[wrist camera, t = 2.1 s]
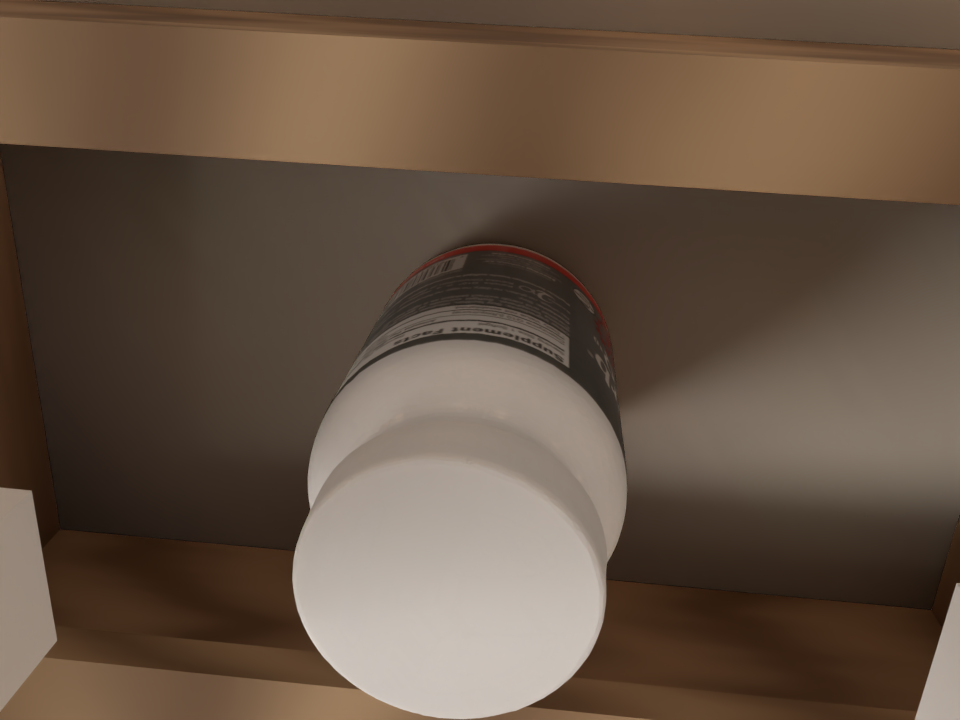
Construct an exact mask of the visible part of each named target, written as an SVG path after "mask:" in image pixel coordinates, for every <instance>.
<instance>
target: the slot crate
mask: <svg viewBox="0 0 960 720" xmlns="http://www.w3.org/2000/svg"><path fill="white" fill-rule="evenodd" d="M0 143H2V144H18V145H33V146H49V147H64V148H80V149H95V150H111V151H127V152H142V153H158V154H173V155H189V156H204V157H220V158H236V159H251V160H267V161H282V162H298V163H313V164H329V165H345V166H360V167H376V168H391V169H407V170H422V171H438V172H453V173H469V174H485V175H500V176H516V177H531V178H547V179H562V180H578V181H594V182H609V183H625V184H640V185H656V186H671V187H687V188H702V189H718V190H734V191H749V192H765V193H780V194H796V195H811V196H827V197H843V198H858V199H874V200H889V201H905V202H920V203H936V204H952V205H960V50H956V49H937V48H918V47H900V46H881V45H862V44H844V43H825V42H806V41H787V40H769V39H750V38H731V37H713V36H694V35H675V34H656V33H638V32H619V31H600V30H582V29H563V28H544V27H525V26H507V25H488V24H469V23H451V22H432V21H413V20H395V19H376V18H357V17H338V16H320V15H301V14H282V13H264V12H245V11H226V10H207V9H189V8H170V7H151V6H133V5H114V4H95V3H77V2H58V1H39V0H0ZM0 488H10V489H20V490H30V491H32V495H33V501H34V507H35V513H36V519H37V525H38V531H39V536H40V542H41V548H42V554H43V560H44V566H45V572H46V577H47V583H48V589H49V595H50V601H51V607H52V613H53V618H54V624H55V630H56V636H57V641H56V643H55V644H54V645H53V646H52V648H51V649H50V650H49V651H48V653H47V654H46V655H45V656H44V658H43V659H42V660H41V661H40V663H39V664H38V665H37V666H36V668H35V669H34V670H33V671H32V673H31V674H30V675H29V676H28V678H27V679H26V680H25V681H24V683H23V684H22V685H21V686H20V688H19V689H18V690H17V691H16V693H15V694H14V695H13V696H12V698H11V699H10V700H9V701H8V703H7V704H6V705H5V706H4V708H3V709H2V710H1V711H0V720H915V717H916V714H917V711H918V708H919V704H920V701H921V698H922V695H923V691H924V688H925V685H926V681H927V678H928V675H929V672H930V668H931V665H932V662H933V658H934V655H935V652H936V649H937V645H938V642H939V639H940V636H941V632H942V629H943V626H944V622H945V619H946V616H947V613H948V609H949V606H950V603H951V599H952V596H953V593H954V590H955V586H956V583H960V516H959V519H958V522H957V526H956V529H955V532H954V536H953V539H952V543H951V546H950V549H949V553H948V556H947V559H946V563H945V566H944V570H943V573H942V576H941V580H940V583H939V586H938V590H937V593H936V597H935V600H934V603H933V607H932V610H926V609H915V608H904V607H893V606H883V605H872V604H861V603H850V602H839V601H829V600H818V599H807V598H796V597H785V596H774V595H764V594H753V593H742V592H731V591H720V590H710V589H699V588H688V587H677V586H666V585H656V584H645V583H634V582H623V581H612V580H606V607H605V613H604V620H603V624H602V627H601V630H600V633H599V636H598V638H597V641H596V643H595V645H594V647H593V649H592V651H591V653H590V655H589V656H588V658H587V659H586V660H585V662H584V663H583V664H582V665H581V667H580V668H579V669H578V670H577V671H576V673H575V674H574V675H573V676H572V677H571V678H570V679H569V680H568V681H566V682H565V683H564V684H563V685H562V686H560V687H559V688H558V689H557V690H555V691H554V692H552V693H551V694H549V695H548V696H546V697H545V698H543V699H541V700H539V701H537V702H535V703H533V704H531V705H528V706H526V707H523V708H521V709H519V710H517V711H512V712H508V713H504V714H499V715H495V716H490V717H484V718H474V719H447V718H437V717H431V716H424V715H421V714H418V713H412V712H409V711H406V710H402V709H399V708H397V707H394V706H392V705H389V704H387V703H385V702H382V701H380V700H378V699H376V698H374V697H372V696H371V695H369V694H367V693H365V692H364V691H362V690H361V689H359V688H358V687H356V686H355V685H353V684H352V683H351V682H349V681H348V680H347V679H346V678H344V677H343V676H342V675H341V674H339V673H338V672H337V671H336V670H335V669H334V668H333V667H332V666H331V665H330V663H329V662H328V661H327V660H326V659H325V658H324V657H323V656H322V655H321V653H320V652H319V651H318V649H317V648H316V646H315V645H314V643H313V642H312V640H311V639H310V637H309V635H308V633H307V631H306V629H305V627H304V625H303V623H302V621H301V618H300V615H299V613H298V610H297V606H296V601H295V597H294V591H293V582H292V574H293V559H294V554H295V551H288V550H278V549H267V548H256V547H245V546H234V545H224V544H213V543H202V542H191V541H180V540H170V539H159V538H148V537H137V536H126V535H116V534H105V533H94V532H83V531H72V530H62V529H60V524H59V518H58V512H57V505H56V499H55V493H54V486H53V480H52V474H51V468H50V461H49V455H48V449H47V443H46V436H45V430H44V424H43V417H42V411H41V405H40V399H39V392H38V386H37V380H36V374H35V367H34V361H33V355H32V348H31V342H30V336H29V330H28V323H27V317H26V311H25V305H24V298H23V292H22V286H21V279H20V273H19V267H18V261H17V254H16V248H15V242H14V235H13V229H12V223H11V217H10V210H9V204H8V198H7V192H6V185H5V179H4V173H3V166H2V160H1V154H0Z"/></svg>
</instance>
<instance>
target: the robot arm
mask: <svg viewBox="0 0 960 720" xmlns="http://www.w3.org/2000/svg"><path fill="white" fill-rule="evenodd" d="M56 641H57V636H56V630H55V624H54V618H53V613H52V607H51V601H50V595H49V589H48V583H47V577H46V572H45V566H44V560H43V554H42V548H41V542H40V536H39V531H38V525H37V519H36V513H35V507H34V501H33V495H32V491H30V490H20V489H10V488H0V711H1V710H2V709H3V708H4V706H5V705H6V704H7V703H8V701H9V700H10V699H11V698H12V696H13V695H14V694H15V693H16V691H17V690H18V689H19V688H20V686H21V685H22V684H23V683H24V681H25V680H26V679H27V678H28V676H29V675H30V674H31V673H32V671H33V670H34V669H35V668H36V666H37V665H38V664H39V663H40V661H41V660H42V659H43V658H44V656H45V655H46V654H47V653H48V651H49V650H50V649H51V648H52V646H53V645H54V644H55V643H56ZM915 720H960V583H956V586H955V590H954V593H953V596H952V599H951V603H950V606H949V609H948V613H947V616H946V619H945V622H944V626H943V629H942V632H941V636H940V639H939V642H938V645H937V649H936V652H935V655H934V658H933V662H932V665H931V668H930V672H929V675H928V678H927V681H926V685H925V688H924V691H923V695H922V698H921V701H920V704H919V708H918V711H917V714H916V717H915Z"/></svg>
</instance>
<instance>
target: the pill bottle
mask: <svg viewBox="0 0 960 720" xmlns="http://www.w3.org/2000/svg"><path fill="white" fill-rule="evenodd" d="M308 498H309V504H310V512H309V515H308V517H307V519H306V521H305V523H304V526H303V528H302V530H301V533H300V536H299V539H298V542H297V545H296V549H295V554H294V559H293V574H292V582H293V591H294V597H295V601H296V606H297V610H298V613H299V615H300V618H301V621H302V623H303V625H304V627H305V629H306V631H307V633H308V635H309V637H310V639H311V640H312V642H313V643H314V645H315V646H316V648H317V649H318V651H319V652H320V653H321V655H322V656H323V657H324V658H325V659H326V660H327V661H328V662H329V663H330V665H331V666H332V667H333V668H334V669H335V670H336V671H337V672H338V673H339V674H341V675H342V676H343V677H344V678H346V679H347V680H348V681H349V682H351V683H352V684H353V685H355V686H356V687H358V688H359V689H361V690H362V691H364V692H365V693H367V694H369V695H371V696H372V697H374V698H376V699H378V700H380V701H382V702H385V703H387V704H389V705H392V706H394V707H397V708H399V709H402V710H406V711H409V712H412V713H418V714H421V715H424V716H431V717H437V718H447V719H474V718H484V717H490V716H495V715H499V714H504V713H508V712H512V711H517V710H519V709H521V708H523V707H526V706H528V705H531V704H533V703H535V702H537V701H539V700H541V699H543V698H545V697H546V696H548V695H549V694H551V693H552V692H554V691H555V690H557V689H558V688H559V687H560V686H562V685H563V684H564V683H565V682H566V681H568V680H569V679H570V678H571V677H572V676H573V675H574V674H575V673H576V671H577V670H578V669H579V668H580V667H581V665H582V664H583V663H584V662H585V660H586V659H587V658H588V656H589V655H590V653H591V651H592V649H593V647H594V645H595V643H596V641H597V638H598V636H599V633H600V630H601V627H602V624H603V620H604V613H605V607H606V569H607V562H608V560H609V559H610V557H611V556H612V553H613V551H614V549H615V547H616V545H617V542H618V539H619V536H620V533H621V530H622V527H623V523H624V518H625V512H626V505H627V469H626V461H625V451H624V444H623V437H622V429H621V420H620V412H619V403H618V396H617V386H616V376H615V369H614V360H613V353H612V347H611V341H610V336H609V333H608V329H607V326H606V323H605V320H604V318H603V316H602V313H601V311H600V309H599V307H598V305H597V304H596V302H595V300H594V299H593V297H592V296H591V294H590V293H589V292H588V290H587V289H586V288H585V287H584V285H583V284H582V283H581V282H580V281H579V280H578V279H577V278H576V277H575V276H574V275H573V274H572V273H571V272H569V271H568V270H567V269H565V268H564V267H563V266H561V265H560V264H558V263H557V262H555V261H554V260H552V259H550V258H548V257H546V256H544V255H542V254H539V253H537V252H534V251H531V250H528V249H526V248H522V247H518V246H512V245H506V244H477V245H470V246H465V247H461V248H457V249H454V250H451V251H448V252H446V253H443V254H441V255H439V256H437V257H435V258H433V259H431V260H429V261H428V262H426V263H424V264H423V265H422V266H420V267H419V268H418V269H416V270H415V271H414V272H413V273H412V274H411V275H410V276H409V277H407V278H406V279H405V280H404V282H403V283H402V284H401V285H400V286H399V287H398V288H397V290H396V291H395V292H394V294H393V295H392V297H391V298H390V300H389V302H388V303H387V305H386V306H385V308H384V310H383V312H382V314H381V315H380V317H379V319H378V321H377V322H376V324H375V326H374V328H373V330H372V331H371V333H370V335H369V337H368V339H367V341H366V342H365V344H364V346H363V348H362V349H361V351H360V353H359V354H358V356H357V358H356V360H355V362H354V363H353V365H352V367H351V369H350V371H349V373H348V374H347V376H346V378H345V380H344V381H343V383H342V385H341V386H340V388H339V390H338V392H337V394H336V395H335V397H334V399H333V400H332V402H331V404H330V406H329V407H328V409H327V411H326V413H325V415H324V418H323V420H322V422H321V425H320V427H319V429H318V432H317V435H316V438H315V441H314V444H313V448H312V452H311V456H310V462H309V469H308Z"/></svg>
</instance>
